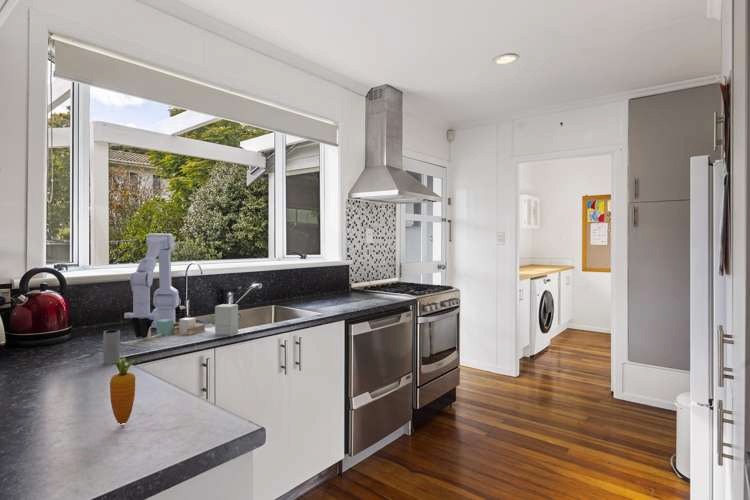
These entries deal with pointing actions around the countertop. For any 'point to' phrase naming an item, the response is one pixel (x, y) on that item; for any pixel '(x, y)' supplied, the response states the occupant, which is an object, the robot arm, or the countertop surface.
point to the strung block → (162, 328)
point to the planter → (111, 346)
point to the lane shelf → (189, 329)
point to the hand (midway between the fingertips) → (141, 337)
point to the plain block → (186, 324)
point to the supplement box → (226, 319)
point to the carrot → (122, 391)
